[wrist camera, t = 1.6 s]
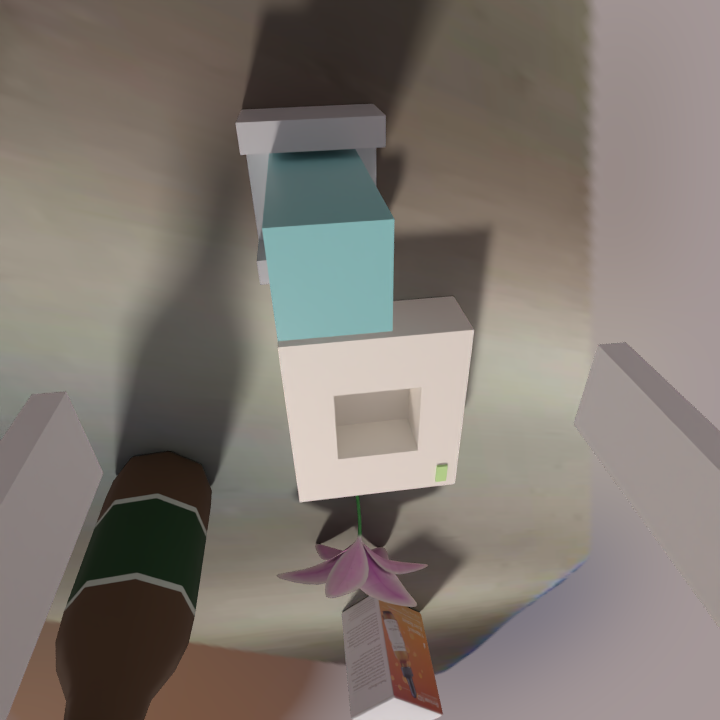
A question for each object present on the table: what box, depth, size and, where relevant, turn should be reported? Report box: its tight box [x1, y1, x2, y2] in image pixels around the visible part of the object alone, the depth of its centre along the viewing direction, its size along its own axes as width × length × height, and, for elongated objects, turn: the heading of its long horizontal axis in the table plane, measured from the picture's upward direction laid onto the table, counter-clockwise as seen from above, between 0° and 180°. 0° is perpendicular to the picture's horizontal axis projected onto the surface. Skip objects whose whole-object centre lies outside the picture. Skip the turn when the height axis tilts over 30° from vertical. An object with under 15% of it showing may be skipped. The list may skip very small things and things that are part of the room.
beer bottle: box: [56, 451, 212, 720], centre depth 31 cm, size 8×8×24 cm
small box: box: [342, 596, 443, 720], centre depth 52 cm, size 8×6×10 cm
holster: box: [236, 104, 386, 285], centre depth 27 cm, size 8×7×4 cm
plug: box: [262, 149, 394, 341], centre depth 23 cm, size 4×4×12 cm
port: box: [278, 296, 474, 502], centre depth 36 cm, size 14×12×5 cm
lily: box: [277, 495, 428, 607], centre depth 43 cm, size 12×12×10 cm
